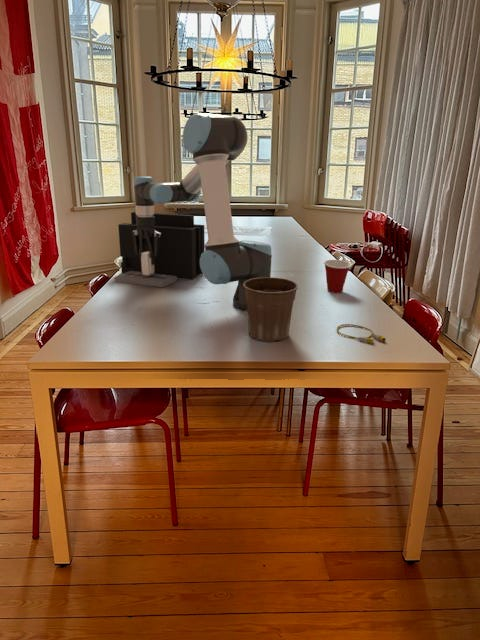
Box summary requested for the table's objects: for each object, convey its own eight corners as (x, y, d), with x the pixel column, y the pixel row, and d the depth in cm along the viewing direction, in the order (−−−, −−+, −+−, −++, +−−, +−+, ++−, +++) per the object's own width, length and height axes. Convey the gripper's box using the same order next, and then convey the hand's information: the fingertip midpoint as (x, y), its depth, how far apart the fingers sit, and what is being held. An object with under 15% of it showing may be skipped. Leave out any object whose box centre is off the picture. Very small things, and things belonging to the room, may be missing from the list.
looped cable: (347, 346, 135) (348, 340, 135) (330, 327, 150) (331, 322, 149) (387, 345, 137) (388, 338, 136) (366, 326, 152) (367, 320, 151)
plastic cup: (328, 295, 182) (331, 266, 178) (317, 288, 192) (319, 260, 188) (353, 294, 185) (356, 264, 181) (340, 287, 195) (343, 259, 191)
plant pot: (290, 348, 132) (293, 294, 127) (235, 341, 136) (236, 288, 131) (298, 328, 147) (302, 279, 142) (249, 323, 151) (251, 275, 146)
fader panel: (163, 287, 190) (162, 282, 189) (115, 281, 197) (114, 276, 196) (176, 280, 200) (176, 275, 199) (130, 275, 207) (130, 270, 207)
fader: (148, 277, 195) (146, 253, 192) (141, 276, 196) (140, 253, 192) (154, 274, 200) (153, 251, 196) (148, 273, 201) (147, 250, 197)
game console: (121, 273, 211) (117, 213, 202) (152, 259, 238) (150, 206, 229) (192, 280, 202) (191, 217, 193) (216, 265, 229) (216, 210, 220)
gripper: (167, 216, 190) (169, 271, 198) (133, 213, 195) (136, 268, 203) (158, 218, 184) (160, 275, 191) (123, 215, 189) (127, 271, 197)
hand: (148, 271), depth 197 cm, fingers closed on fader, 3 cm apart
